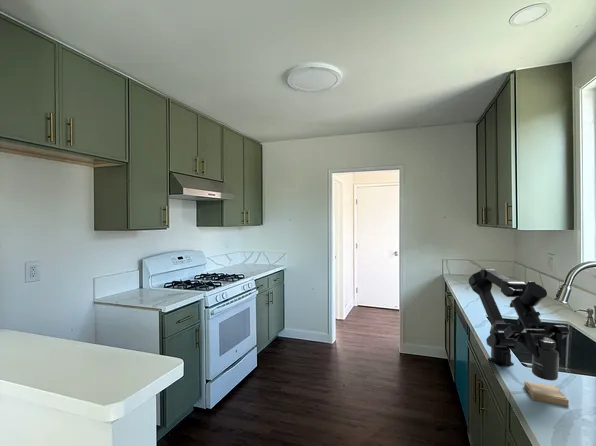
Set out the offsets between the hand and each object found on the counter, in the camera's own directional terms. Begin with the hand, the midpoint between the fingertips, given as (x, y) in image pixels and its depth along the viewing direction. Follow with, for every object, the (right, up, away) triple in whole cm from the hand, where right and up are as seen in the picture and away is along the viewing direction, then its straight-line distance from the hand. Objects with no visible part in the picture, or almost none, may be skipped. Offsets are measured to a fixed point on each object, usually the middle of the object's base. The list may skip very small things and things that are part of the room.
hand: (548, 357), depth 103 cm
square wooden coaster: (0, -13, +1) cm, 13 cm away
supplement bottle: (0, -7, +2) cm, 7 cm away
